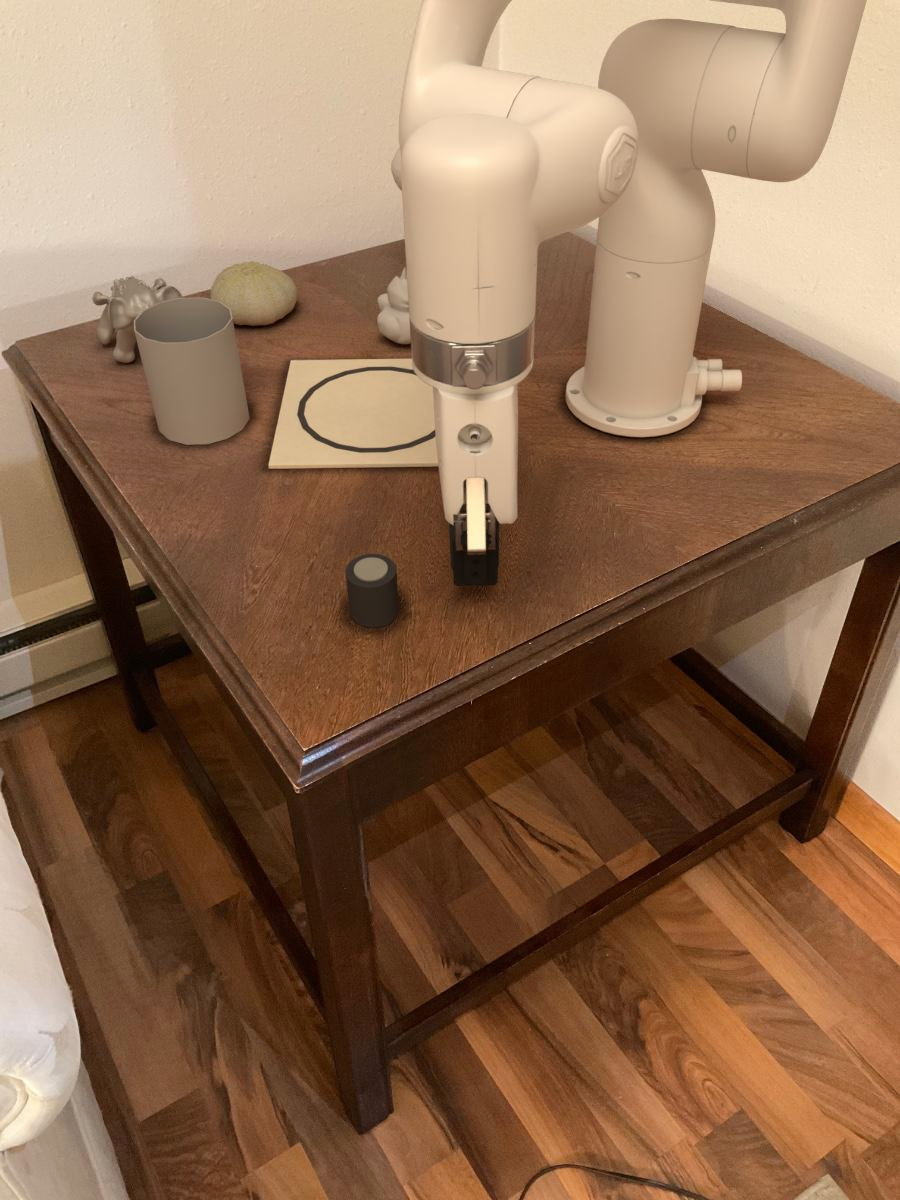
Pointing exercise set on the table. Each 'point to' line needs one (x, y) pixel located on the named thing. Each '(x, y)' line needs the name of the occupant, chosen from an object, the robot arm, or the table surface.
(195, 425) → the cup
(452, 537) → the black cylinder
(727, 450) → the table surface
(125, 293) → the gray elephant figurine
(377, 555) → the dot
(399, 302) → the rubber duck
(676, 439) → the table surface
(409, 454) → the board
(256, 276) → the sea urchin shell
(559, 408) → the table surface
